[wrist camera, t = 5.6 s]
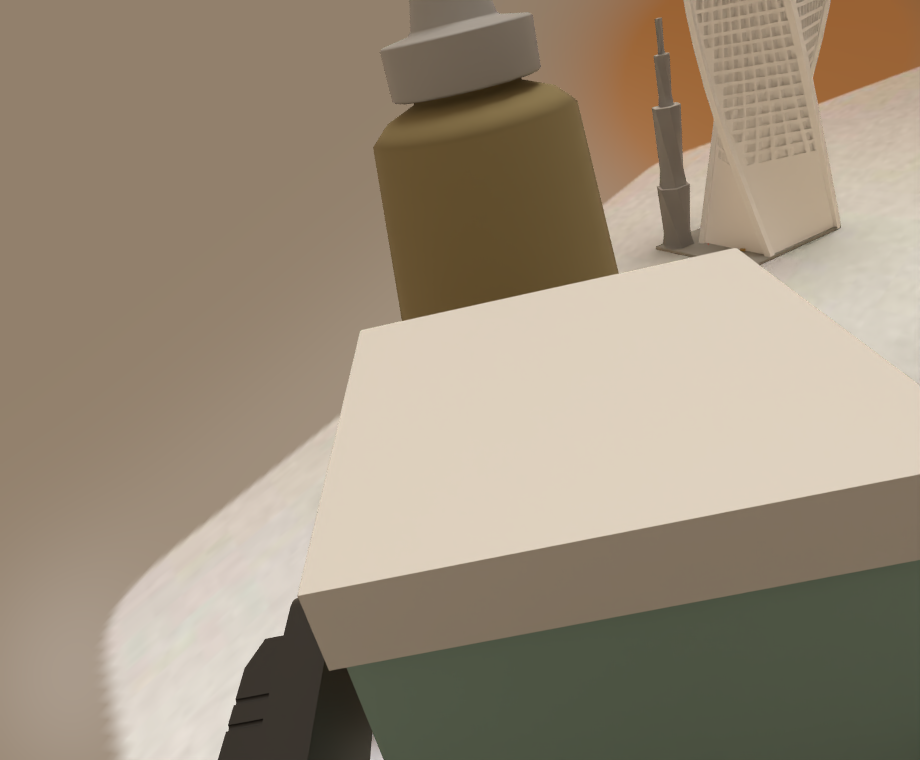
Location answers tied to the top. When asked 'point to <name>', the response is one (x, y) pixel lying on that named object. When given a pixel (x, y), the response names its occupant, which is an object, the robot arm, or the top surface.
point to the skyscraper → (749, 131)
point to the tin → (626, 528)
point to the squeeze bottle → (483, 165)
